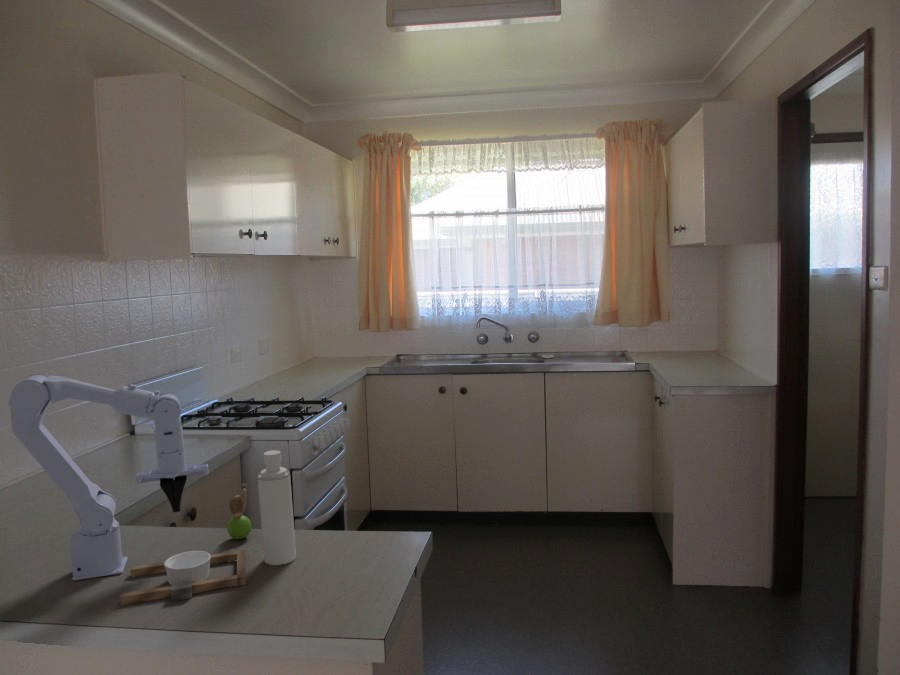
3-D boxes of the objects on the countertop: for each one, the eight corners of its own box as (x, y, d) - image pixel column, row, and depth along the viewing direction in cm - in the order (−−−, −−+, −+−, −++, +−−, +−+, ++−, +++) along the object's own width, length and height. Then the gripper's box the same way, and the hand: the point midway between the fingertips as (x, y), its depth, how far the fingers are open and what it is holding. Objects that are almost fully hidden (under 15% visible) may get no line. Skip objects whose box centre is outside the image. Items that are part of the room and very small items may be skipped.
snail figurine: (259, 532, 169) (255, 483, 168) (244, 543, 163) (240, 492, 162) (238, 531, 171) (234, 482, 170) (223, 542, 165) (219, 491, 163)
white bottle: (302, 555, 155) (294, 442, 152) (280, 567, 149) (271, 450, 147) (279, 550, 159) (271, 439, 156) (257, 562, 153) (248, 447, 150)
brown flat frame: (119, 610, 134) (118, 598, 134) (133, 570, 152) (132, 560, 151) (245, 589, 140) (244, 578, 140) (245, 553, 158) (244, 543, 158)
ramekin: (197, 566, 152) (195, 546, 152) (221, 576, 147) (219, 556, 146) (157, 582, 146) (155, 561, 145) (181, 593, 140) (179, 572, 140)
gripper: (131, 459, 149) (138, 521, 151) (204, 450, 153) (210, 511, 155) (136, 450, 156) (142, 510, 158) (206, 442, 160) (212, 501, 162)
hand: (176, 510), depth 157 cm, fingers closed
